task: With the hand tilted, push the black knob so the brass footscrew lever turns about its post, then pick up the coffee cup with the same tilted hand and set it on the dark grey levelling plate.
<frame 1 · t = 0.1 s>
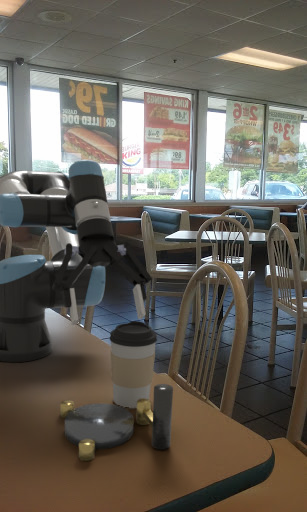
hand: (109, 319, 92), 15 cm above the table, tool tilted 35°, fingers open, 13 cm apart
footscrew lever: (153, 406, 79), point 5 cm above the table, hinge at 0.0°
coffee cup: (131, 401, 92), on the table
levelling plate: (99, 430, 80), on the table
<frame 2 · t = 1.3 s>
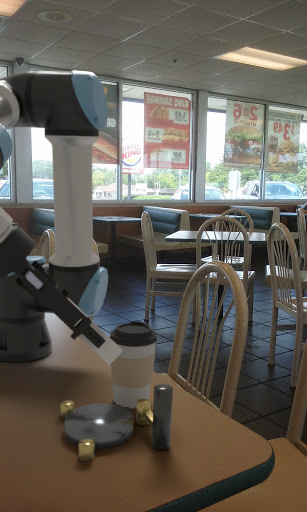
hand: (101, 342, 71), 18 cm above the table, tool tilted 45°, fingers open, 12 cm apart
nothing on the table moved.
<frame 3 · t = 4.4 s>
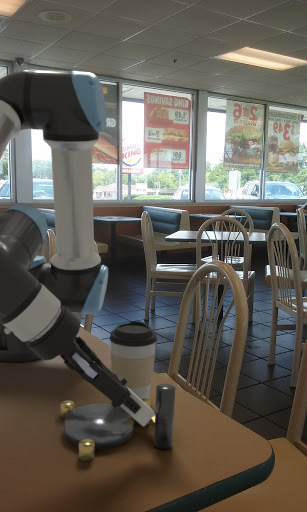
hand: (147, 418, 75), 5 cm above the table, tool tilted 45°, fingers closed
footscrew lever: (154, 406, 79), point 5 cm above the table, hinge at 3.1°, touching gripper
everything else where it was.
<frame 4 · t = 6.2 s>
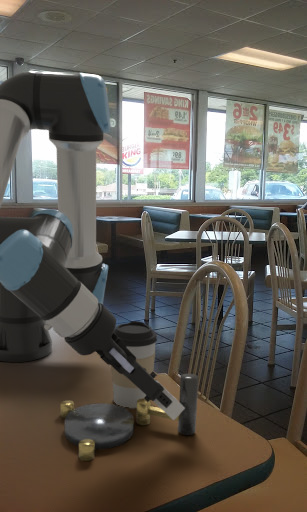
hand: (176, 411, 78), 5 cm above the table, tool tilted 45°, fingers closed
footscrew lever: (166, 400, 81), point 5 cm above the table, hinge at 47.6°, touching gripper
everything else where it was.
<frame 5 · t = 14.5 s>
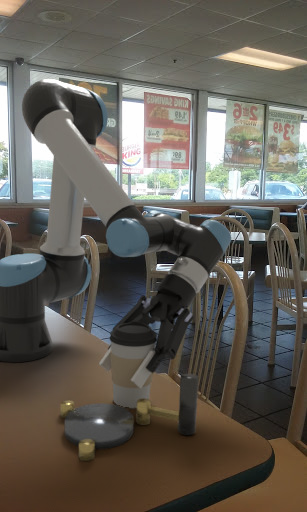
hand: (119, 375, 89), 6 cm above the table, tool tilted 45°, fingers closed on coffee cup, 9 cm apart
footscrew lever: (166, 400, 81), point 5 cm above the table, hinge at 47.7°
coffee cup: (131, 401, 92), on the table, touching gripper
when the fingers open (9 cm above the table, at t = 19.4 s): coffee cup drops 1 cm, resting on levelling plate.
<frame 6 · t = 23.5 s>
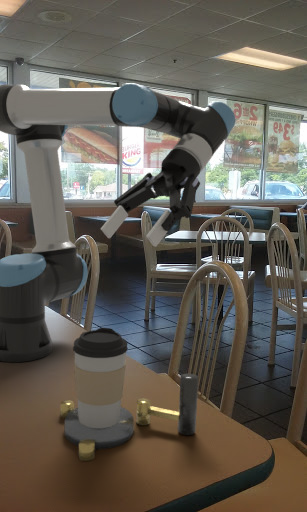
hand: (126, 237, 89), 32 cm above the table, tool tilted 45°, fingers open, 13 cm apart
coffee cup: (98, 419, 80), point 2 cm above the table, touching levelling plate
everything else where it was.
at the end: footscrew lever at +48° (first picture: +0°); coffee cup inside the target area on the levelling plate (0.3 cm from its centre), point 1.8 cm above the levelling plate's base; coffee cup tilted 0° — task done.
